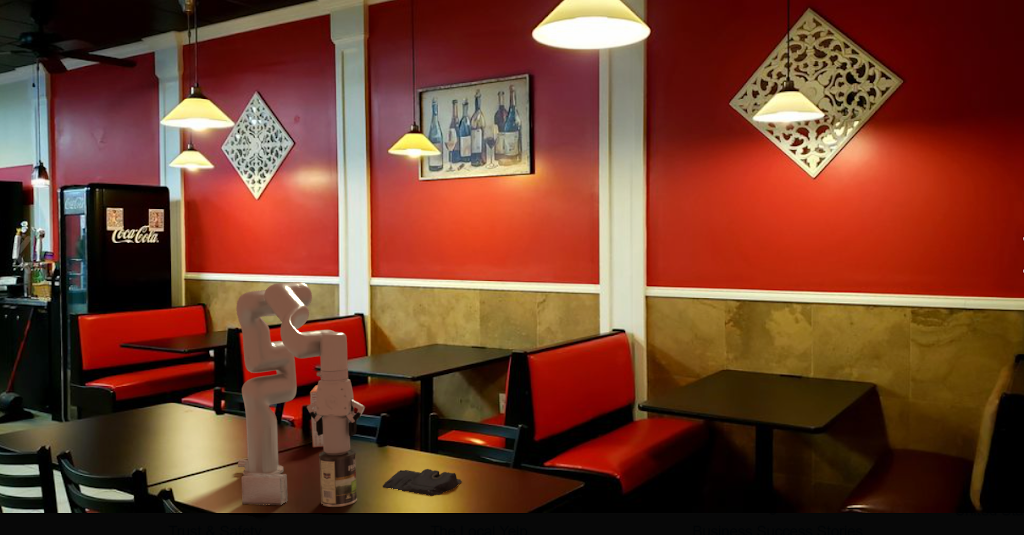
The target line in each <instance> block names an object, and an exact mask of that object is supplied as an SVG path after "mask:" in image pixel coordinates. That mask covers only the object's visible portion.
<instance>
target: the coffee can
mask: <svg viewBox="0 0 1024 535" xmlns="http://www.w3.org/2000/svg"><path fill="white" fill-rule="evenodd" d="M356 453H357V452H356V451H355V450H354V449H352V448H350V450H349V451H348V452H347V453H345V454H342V455H327V454H326V453H325V452H324V451H321V452H319V454H318V457H319V476H320V478H319V479H320V503H321V505H322V504H323V505H322V506H324V507H330V508H339V507H346V506H347V507H348V506H349V505H353V504H354V503H356V502H357V501H358V497H357V496H358V495H357V493H358V492H357V469H356V468H357V466H356Z"/></svg>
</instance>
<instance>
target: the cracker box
mask: <svg viewBox="0 0 1024 535" xmlns="http://www.w3.org/2000/svg"><path fill="white" fill-rule="evenodd" d="M317 387H318V384H317V385H315V386H314V387H313V388H312V389H311V391H310V392H309V398H310V400H309V401H310V404H312V403H314V402H315V401H316V396H317ZM314 410H315V411H316V406H315V407H314ZM310 418H311V436H312V437H311V438H312V448H324V447H323V434H322V435H320V436H318V434H317V431H316V422H315V421H314V419H313V417H312V416H311V415H310ZM322 420H323V418H322Z"/></svg>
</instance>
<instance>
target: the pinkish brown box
mask: <svg viewBox="0 0 1024 535" xmlns="http://www.w3.org/2000/svg"><path fill="white" fill-rule="evenodd" d="M287 476H288V475H287V474H286V473H281V474H266V473H248V474H247V476H244V475H243V476H241V497H242V501H241V502H242V505H243V504H258V505H257V506H266V504H267V505H268V504H270V505H282V504H283V503H285V502H286V503H288V502H289V500H288V497H289V496H288V477H287ZM287 501H288V502H287ZM286 503H285V504H286ZM259 504H260V505H259ZM263 504H264V505H263ZM283 505H284V504H283ZM283 505H282V506H283Z"/></svg>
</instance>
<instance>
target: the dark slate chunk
mask: <svg viewBox="0 0 1024 535" xmlns="http://www.w3.org/2000/svg"><path fill="white" fill-rule="evenodd" d="M461 483H463V481H462V480H461V479H459V478H457V474H456V472H447V471H443V472H441V473H440V471H439V470H437V469H436V470H432V469H429V468H426V469H424V470H421V472H419V471H414V470H407V469H404V470H399V471H397V472H396V473H395V474H393V475H392V476H391V477H390V478H389V479H388V480H386V481H385V482H384V483H383V485H382V488H383V489H388V488H391V489H390V490H394V489H398V490H397V491H399V490H402V491H401V492H405V491H409V492H408V493H410V492H414V493H413V494H417V493H419V494H418V495H423V494H426V495H425V496H429V495H430V496H431V497H432V496H440V495H442V494H444V493H446V491H447V492H450V491H452V490H454V489H456V488H457V487H458V486H459V485H461ZM458 484H459V485H458ZM457 485H458V486H457ZM456 486H457V487H456ZM455 487H456V488H455ZM392 488H393V489H392ZM453 488H454V489H453ZM451 489H452V490H451ZM449 490H450V491H449ZM443 492H444V493H443ZM430 496H429V497H430Z"/></svg>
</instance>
